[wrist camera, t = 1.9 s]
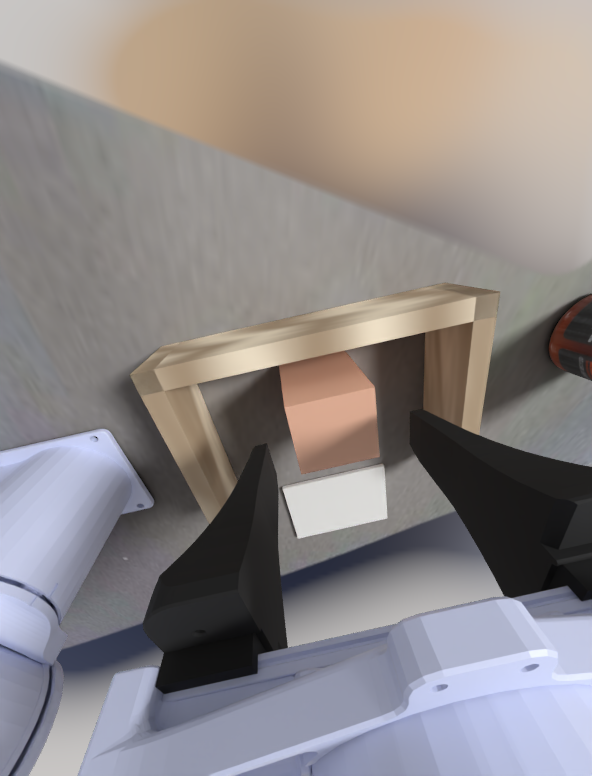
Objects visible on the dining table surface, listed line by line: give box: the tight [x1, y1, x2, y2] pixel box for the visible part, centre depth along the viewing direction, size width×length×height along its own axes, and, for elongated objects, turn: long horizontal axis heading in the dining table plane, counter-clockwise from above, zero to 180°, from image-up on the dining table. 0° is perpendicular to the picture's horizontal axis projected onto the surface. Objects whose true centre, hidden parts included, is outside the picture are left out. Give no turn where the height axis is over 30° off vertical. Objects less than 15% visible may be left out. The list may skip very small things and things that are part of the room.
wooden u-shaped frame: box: [130, 283, 500, 524], centre depth 18 cm, size 18×13×4 cm
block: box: [279, 351, 380, 474], centre depth 17 cm, size 4×4×6 cm
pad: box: [282, 464, 387, 538], centre depth 25 cm, size 9×7×1 cm
